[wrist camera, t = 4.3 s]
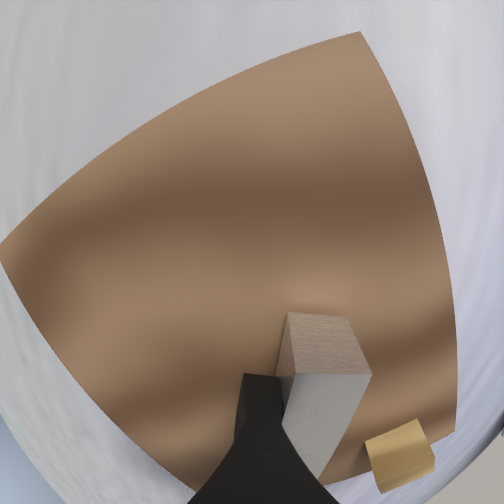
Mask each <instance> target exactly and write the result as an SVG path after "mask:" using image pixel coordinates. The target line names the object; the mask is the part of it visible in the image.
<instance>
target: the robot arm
mask: <svg viewBox="0 0 504 504" xmlns="http://www.w3.org/2000/svg"><path fill="white" fill-rule="evenodd" d="M281 421H282V390H281V385H280V381H279V377H276V376H266V375H257V374H249V373H243V378H242V384H241V389H240V395H239V400H238V405H237V411H236V419H235V428H234V443H233V444H232V446H231V448H230V449H229V451H228V453H227V454H226V456H225V457H224V459H223V460H222V462H221V463H220V465H219V466H218V467H217V469H216V470H215V471H214V473H213V474H212V475H211V477H210V478H209V479H208V480H207V482H206V483H205V484H204V485H203V486H202V488H201V489H200V490H199V491H198V492H197V493H196V494H195V495H194V496H193V498H192V499H191V500H190V501H189V502H188V503H187V504H340V503H338V502H337V501H336V499H335V498H334V497H333V496H332V495H331V494H330V493H329V492H328V491H327V490H326V489H325V488H324V487H323V486H322V485H321V483H320V482H319V481H318V480H317V479H316V477H315V476H314V475H313V474H312V472H311V471H310V470H309V469H308V467H307V466H306V464H305V463H304V462H303V460H302V459H301V457H300V456H299V454H298V453H297V451H296V449H295V448H294V446H293V444H292V443H291V441H290V439H289V437H288V436H287V434H286V432H285V430H284V428H283V426H282V424H281ZM501 434H502V436H504V428H503V430H502V433H501Z"/></svg>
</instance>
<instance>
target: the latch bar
mask: <svg viewBox="0 0 504 504" xmlns="http://www.w3.org/2000/svg"><path fill="white" fill-rule="evenodd" d="M275 376H276V377H279V381H280V385H281V390H282V421H281V424H282V426H283V428H284V430H285V432H286V434H287V436H288V437H289V439H290V441H291V443H292V444H293V446H294V448H295V449H296V451H297V453H298V454H299V456H300V457H301V459H302V460H303V462H304V463H305V464H306V466H307V467H308V469H309V470H310V471H311V472H312V474H313V475H314V476H315V477H316V479H318V478H319V476H320V474H321V473H322V471H323V470H324V468H325V466H326V465H327V463H328V461H329V460H330V458H331V456H332V454H333V453H334V451H335V449H336V447H337V446H338V444H339V442H340V440H341V438H342V437H343V435H344V433H345V431H346V429H347V427H348V425H349V423H350V421H351V419H352V417H353V415H354V413H355V411H356V409H357V407H358V405H359V403H360V401H361V399H362V397H363V395H364V392H365V390H366V388H367V386H368V383H369V381H370V379H371V377H372V372H371V370H370V368H369V365H368V363H367V361H366V359H365V356H364V354H363V352H362V350H361V348H360V345H359V343H358V341H357V339H356V337H355V335H354V332H353V330H352V328H351V326H350V324H349V322H348V320H347V318H346V317H342V316H328V315H315V314H303V313H292V312H288V313H287V318H286V323H285V329H284V334H283V339H282V344H281V349H280V354H279V359H278V364H277V368H276V373H275Z"/></svg>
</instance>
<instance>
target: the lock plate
mask: <svg viewBox="0 0 504 504" xmlns="http://www.w3.org/2000/svg"><path fill="white" fill-rule="evenodd" d="M0 261H1V264H2V266H3V268H4V270H5V272H6V274H7V276H8V278H9V280H10V282H11V283H12V285H13V287H14V289H15V291H16V293H17V294H18V296H19V298H20V300H21V302H22V303H23V305H24V307H25V308H26V310H27V312H28V313H29V315H30V317H31V318H32V320H33V321H34V323H35V325H36V326H37V328H38V329H39V331H40V332H41V334H42V335H43V337H44V338H45V340H46V341H47V343H48V344H49V345H50V347H51V348H52V350H53V351H54V352H55V354H56V355H57V357H58V358H59V359H60V361H61V362H62V363H63V365H64V366H65V367H66V368H67V370H68V371H69V372H70V374H71V375H72V376H73V377H74V379H75V380H76V381H77V382H78V383H79V385H80V386H81V387H82V388H83V389H84V391H85V392H86V393H87V394H88V395H89V396H90V397H91V399H92V400H93V401H94V402H95V403H96V404H97V405H98V406H99V407H100V409H101V410H102V411H103V412H104V413H105V414H106V415H107V416H108V417H109V418H110V419H111V420H112V421H113V422H114V423H115V424H116V425H117V426H118V427H119V428H120V429H121V430H122V431H123V432H124V433H125V434H126V435H127V436H128V437H129V438H130V439H131V440H132V441H133V442H135V443H136V444H137V445H138V446H139V447H140V448H141V449H142V450H143V451H145V452H146V453H147V454H148V455H149V456H150V457H152V458H153V459H154V460H155V461H156V462H157V463H159V464H160V465H161V466H162V467H164V468H165V469H166V470H167V471H169V472H170V473H171V474H172V475H174V476H175V477H176V478H178V479H179V480H180V481H182V482H183V483H184V484H186V485H187V486H189V487H190V488H191V489H193V490H194V491H196V492H198V491H199V490H200V489H201V488H202V486H203V485H204V484H205V483H206V482H207V480H208V479H209V478H210V477H211V475H212V474H213V473H214V471H215V470H216V469H217V467H218V466H219V465H220V463H221V462H222V460H223V459H224V457H225V456H226V454H227V453H228V451H229V449H230V448H231V446H232V444H233V443H234V428H235V419H236V411H237V405H238V400H239V395H240V389H241V384H242V378H243V373H249V374H257V375H266V376H275V373H276V368H277V364H278V359H279V354H280V349H281V344H282V339H283V334H284V329H285V323H286V318H287V313H288V312H292V313H303V314H315V315H328V316H342V317H346V318H347V320H348V322H349V324H350V326H351V328H352V330H353V332H354V335H355V337H356V339H357V341H358V343H359V345H360V348H361V350H362V352H363V354H364V356H365V359H366V361H367V363H368V365H369V368H370V370H371V372H372V377H371V379H370V381H369V383H368V386H367V388H366V390H365V392H364V395H363V397H362V399H361V401H360V403H359V405H358V407H357V409H356V411H355V413H354V415H353V417H352V419H351V421H350V423H349V425H348V427H347V429H346V431H345V433H344V435H343V437H342V438H341V440H340V442H339V444H338V446H337V447H336V449H335V451H334V453H333V454H332V456H331V458H330V460H329V461H328V463H327V465H326V466H325V468H324V470H323V471H322V473H321V474H320V476H319V478H318V479H317V480H318V481H319V482H320V483H321V485H322V486H325V485H328V484H332V483H335V482H339V481H342V480H345V479H348V478H351V477H354V476H357V475H360V474H363V473H366V472H369V471H372V470H373V473H374V477H375V481H376V484H377V486H378V488H379V491H380V493H381V494H382V493H385V492H387V491H390V490H393V489H395V488H398V487H400V486H402V485H405V484H407V483H409V482H412V481H414V480H416V479H418V478H420V477H423V476H425V475H427V474H429V473H431V472H433V471H434V464H435V456H434V454H433V452H432V449H431V447H430V444H432V443H434V442H436V441H438V440H440V439H442V438H444V437H445V436H447V435H449V434H451V433H452V432H454V431H455V421H456V407H457V340H456V325H455V314H454V304H453V296H452V288H451V281H450V275H449V268H448V263H447V257H446V252H445V247H444V242H443V237H442V233H441V228H440V224H439V220H438V216H437V212H436V208H435V204H434V201H433V197H432V194H431V190H430V187H429V183H428V180H427V177H426V174H425V171H424V168H423V165H422V162H421V159H420V156H419V153H418V150H417V148H416V145H415V142H414V140H413V137H412V134H411V132H410V129H409V127H408V125H407V122H406V120H405V117H404V115H403V113H402V110H401V108H400V106H399V104H398V101H397V99H396V97H395V95H394V93H393V91H392V89H391V87H390V85H389V82H388V80H387V78H386V77H385V75H384V73H383V71H382V69H381V67H380V65H379V63H378V61H377V59H376V58H375V56H374V54H373V52H372V51H371V49H370V47H369V45H368V44H367V42H366V40H365V39H364V37H363V35H362V34H361V32H360V31H359V32H355V33H351V34H347V35H344V36H340V37H336V38H333V39H329V40H326V41H323V42H320V43H316V44H313V45H310V46H307V47H304V48H301V49H298V50H295V51H293V52H290V53H287V54H284V55H282V56H279V57H276V58H274V59H271V60H269V61H266V62H264V63H261V64H259V65H256V66H254V67H252V68H249V69H247V70H245V71H243V72H240V73H238V74H236V75H234V76H232V77H229V78H227V79H225V80H223V81H221V82H219V83H217V84H215V85H213V86H211V87H209V88H207V89H205V90H203V91H201V92H199V93H197V94H195V95H193V96H192V97H190V98H188V99H186V100H184V101H182V102H181V103H179V104H177V105H175V106H174V107H172V108H170V109H168V110H167V111H165V112H163V113H162V114H160V115H158V116H157V117H155V118H153V119H152V120H150V121H148V122H147V123H145V124H144V125H142V126H141V127H139V128H137V129H136V130H134V131H133V132H131V133H130V134H128V135H127V136H125V137H124V138H122V139H121V140H120V141H118V142H117V143H115V144H114V145H112V146H111V147H110V148H108V149H107V150H105V151H104V152H103V153H101V154H100V155H99V156H97V157H96V158H95V159H93V160H92V161H91V162H89V163H88V164H87V165H85V166H84V167H83V168H82V169H80V170H79V171H78V172H77V173H75V174H74V175H73V176H72V177H70V178H69V179H68V180H67V181H66V182H64V183H63V184H62V185H61V186H60V187H59V188H57V189H56V190H55V191H54V192H53V193H52V194H51V195H49V196H48V197H47V198H46V199H45V200H44V201H43V202H42V203H41V204H40V205H39V206H37V207H36V208H35V209H34V210H33V211H32V212H31V213H30V214H29V215H28V216H27V217H26V218H25V219H24V220H23V221H22V222H21V223H20V224H19V225H18V226H17V227H16V228H15V229H14V230H13V231H12V232H11V233H10V234H9V235H8V236H7V237H6V239H5V240H4V241H3V242H2V243H1V244H0Z"/></svg>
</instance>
